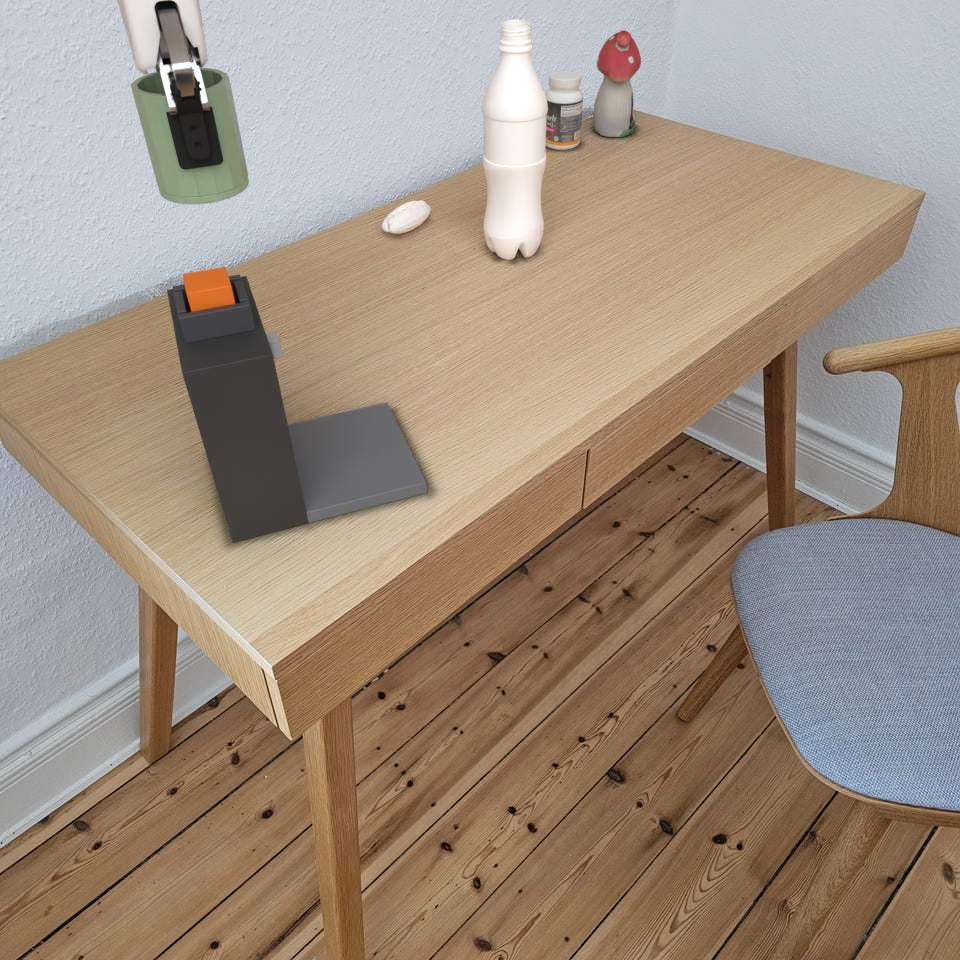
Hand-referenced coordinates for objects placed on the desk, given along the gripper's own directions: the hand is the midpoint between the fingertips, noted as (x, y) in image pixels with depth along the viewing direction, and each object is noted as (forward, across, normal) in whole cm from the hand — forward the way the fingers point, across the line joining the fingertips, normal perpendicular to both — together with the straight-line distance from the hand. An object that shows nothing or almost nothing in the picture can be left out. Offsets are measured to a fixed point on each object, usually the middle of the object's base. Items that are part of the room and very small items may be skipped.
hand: (195, 146), depth 66 cm
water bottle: (+23, -18, +35) cm, 45 cm away
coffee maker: (+24, +14, +3) cm, 27 cm away
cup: (+3, 0, 0) cm, 3 cm away
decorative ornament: (+23, -49, +65) cm, 85 cm away
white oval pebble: (+23, -29, +25) cm, 45 cm away
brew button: (+6, +14, -2) cm, 15 cm away
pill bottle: (+23, -47, +55) cm, 76 cm away
